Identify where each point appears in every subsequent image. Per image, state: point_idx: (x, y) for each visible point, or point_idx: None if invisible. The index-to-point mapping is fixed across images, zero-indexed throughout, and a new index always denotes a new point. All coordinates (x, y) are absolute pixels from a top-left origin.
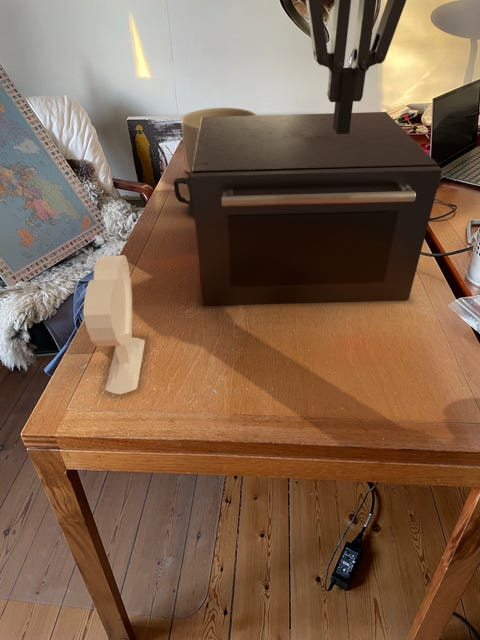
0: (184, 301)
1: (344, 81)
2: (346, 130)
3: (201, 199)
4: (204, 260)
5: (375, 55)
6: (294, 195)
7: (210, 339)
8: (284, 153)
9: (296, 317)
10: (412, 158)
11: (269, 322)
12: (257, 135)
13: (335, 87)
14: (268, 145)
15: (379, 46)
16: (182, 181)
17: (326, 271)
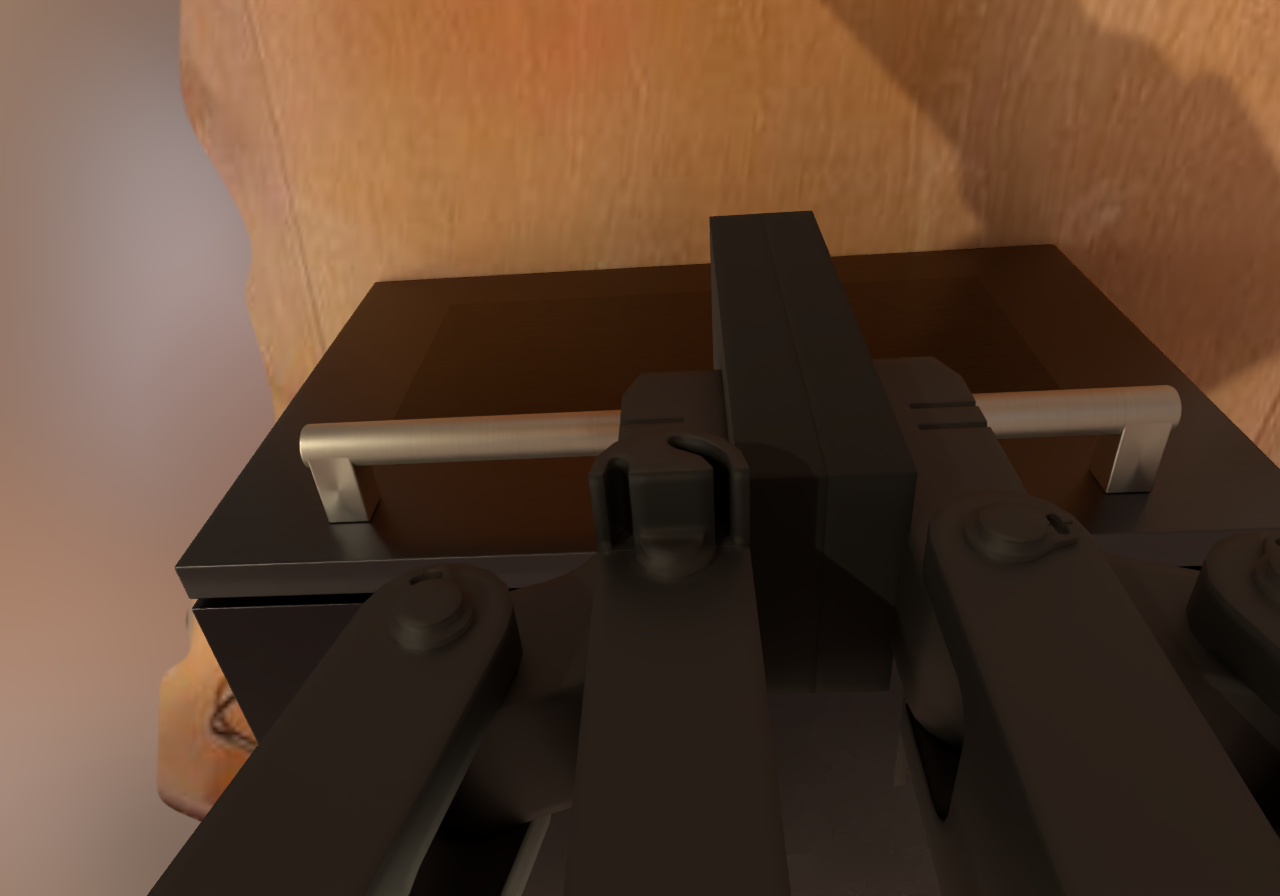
0: (1112, 268)
1: (869, 412)
2: (736, 223)
3: (1231, 461)
4: (1109, 321)
5: (495, 637)
6: None
7: (1053, 60)
8: (842, 720)
9: (743, 188)
10: (299, 662)
11: (837, 159)
12: (921, 868)
13: (929, 429)
14: (895, 789)
15: (429, 735)
16: None
17: (646, 316)
